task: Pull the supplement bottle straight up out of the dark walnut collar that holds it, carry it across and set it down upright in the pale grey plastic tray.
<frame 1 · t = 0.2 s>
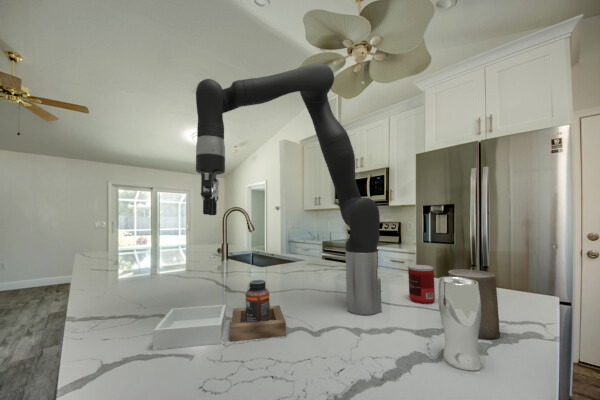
hand: (210, 214, 70), 28 cm above the worktop, tool pointing down, fingers open, 8 cm apart
beer glass: (462, 362, 49), on the worktop
grey tray: (194, 333, 62), on the worktop
supplement bottle: (257, 328, 65), resting in walnut collar
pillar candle: (474, 331, 62), on the worktop
canned food: (422, 301, 85), on the worktop
walnut collar: (257, 327, 65), on the worktop
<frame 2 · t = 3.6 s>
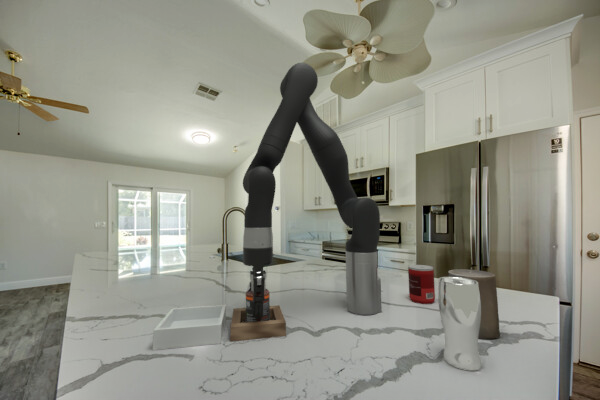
hand: (257, 312, 65), 4 cm above the worktop, tool pointing down, fingers closed on supplement bottle, 6 cm apart
supplement bottle: (257, 328, 65), resting in walnut collar, touching gripper
everything else where it was.
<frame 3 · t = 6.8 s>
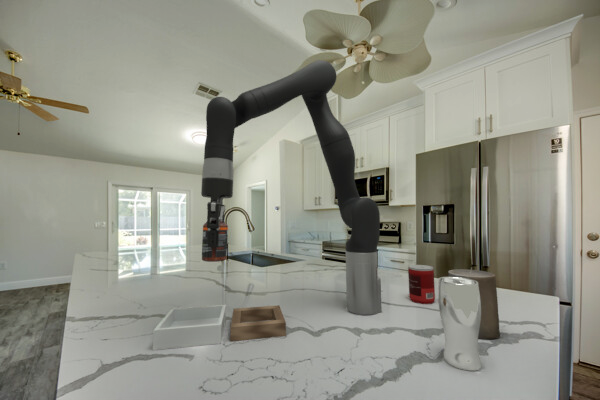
hand: (214, 245, 64), 21 cm above the worktop, tool pointing down, fingers closed on supplement bottle, 6 cm apart
supplement bottle: (214, 261, 64), point 17 cm above the worktop, touching gripper
everything else where it was.
when the fingers open (6 cm above the worktop, at t = 9.9 s): supplement bottle drops 1 cm, resting on grey tray.
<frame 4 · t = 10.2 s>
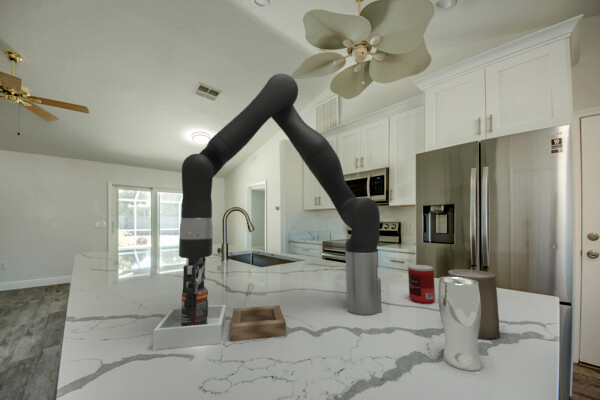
hand: (194, 304, 62), 7 cm above the worktop, tool pointing down, fingers open, 8 cm apart
supplement bottle: (194, 329, 62), point 1 cm above the worktop, touching grey tray
everything else where it was.
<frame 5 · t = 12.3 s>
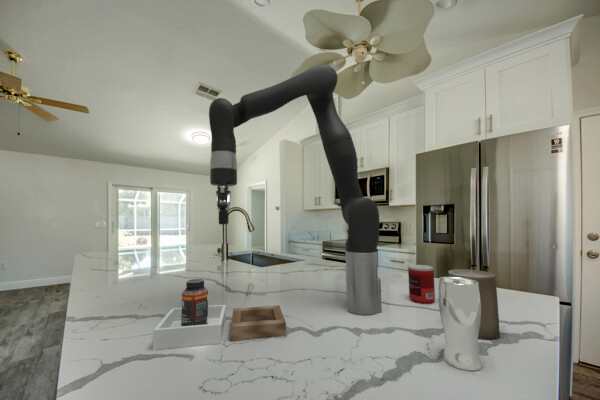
hand: (223, 224, 75), 26 cm above the worktop, tool pointing down, fingers open, 8 cm apart
nothing on the worktop moved.
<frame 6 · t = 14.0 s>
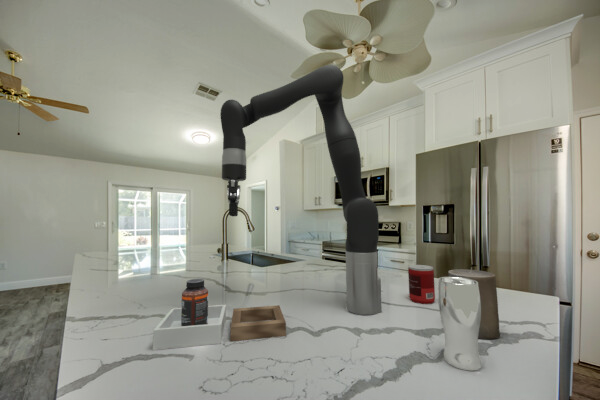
hand: (233, 216, 81), 28 cm above the worktop, tool pointing down, fingers open, 8 cm apart
nothing on the worktop moved.
at the end: supplement bottle inside the target area on the grey tray (0.1 cm from its centre), point 0.8 cm above the grey tray's base; supplement bottle tilted 0°; the gripper is holding nothing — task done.
